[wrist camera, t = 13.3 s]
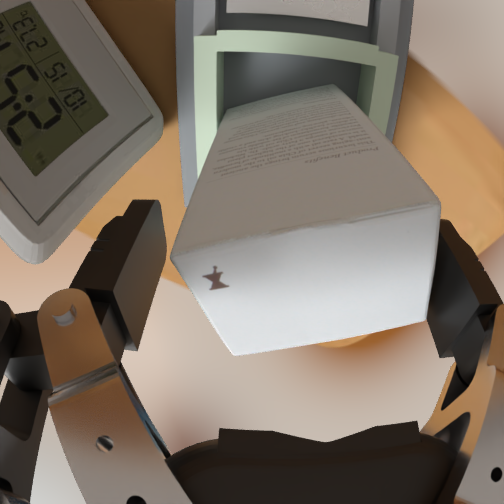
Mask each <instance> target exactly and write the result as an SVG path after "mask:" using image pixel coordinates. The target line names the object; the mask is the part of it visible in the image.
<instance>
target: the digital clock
mask: <svg viewBox="0 0 504 504" xmlns="http://www.w3.org/2000/svg"><path fill="white" fill-rule="evenodd" d="M162 134H163V115H162V113H161V111H160V109H159V108H158V106H157V104H156V103H155V101H154V100H153V98H152V97H151V95H150V94H149V92H148V91H147V89H146V88H145V86H144V85H143V83H142V82H141V80H140V79H139V78H138V76H137V75H136V73H135V72H134V70H133V69H132V67H131V66H130V65H129V63H128V62H127V60H126V59H125V57H124V56H123V54H122V53H121V52H120V50H119V49H118V47H117V46H116V44H115V43H114V42H113V40H112V39H111V37H110V36H109V34H108V33H107V31H106V30H105V29H104V27H103V26H102V24H101V23H100V21H99V20H98V19H97V17H96V16H95V14H94V13H93V11H92V10H91V9H90V7H89V6H88V4H87V3H86V1H85V0H0V237H1V239H2V240H3V241H4V242H5V243H6V244H7V245H8V246H9V248H10V249H11V250H12V251H13V252H14V253H15V254H16V255H17V256H18V257H20V258H21V259H22V260H24V261H26V262H27V263H31V264H40V263H43V262H44V261H45V260H47V259H48V258H49V257H50V256H51V255H52V254H53V252H55V250H56V249H57V248H58V247H59V246H60V245H61V243H62V242H63V241H64V240H65V239H66V238H67V237H68V235H69V234H70V233H71V232H72V231H73V230H74V228H75V227H76V226H77V225H78V224H79V223H80V221H81V220H82V219H83V218H84V217H85V216H86V215H87V213H88V212H89V211H90V210H91V209H92V208H93V207H94V206H95V205H96V203H97V202H98V201H99V200H100V199H101V198H102V197H103V196H104V195H105V194H106V193H107V192H108V191H109V189H110V188H111V187H112V186H113V185H114V184H115V183H116V182H117V181H118V180H119V179H120V178H121V177H122V176H123V175H124V174H125V173H126V172H127V171H128V170H129V169H130V168H131V167H132V166H133V165H134V164H135V163H136V162H137V161H138V160H139V159H140V158H141V157H142V156H143V155H144V154H145V153H146V152H147V151H149V150H150V149H151V148H152V147H153V146H154V145H155V144H156V143H157V142H158V141H159V139H160V138H161V136H162Z"/></svg>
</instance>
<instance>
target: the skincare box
mask: <svg viewBox="0 0 504 504" xmlns="http://www.w3.org/2000/svg"><path fill="white" fill-rule="evenodd" d="M440 215H441V202H440V200H439V198H438V197H437V196H436V195H435V194H434V192H433V191H432V190H431V188H430V187H429V186H428V185H427V183H426V182H425V181H424V180H423V179H422V178H421V176H420V175H419V174H418V173H417V171H416V170H415V169H414V168H413V167H412V166H411V165H410V163H409V162H408V161H407V160H406V158H405V157H404V156H403V155H402V154H401V153H400V152H399V151H398V149H397V148H396V147H395V146H394V145H393V144H392V143H391V142H390V140H389V139H388V138H387V137H386V136H385V135H384V134H383V132H382V131H381V130H380V129H379V128H378V127H377V126H376V125H375V124H374V123H373V122H372V121H371V120H370V119H369V118H368V117H367V116H366V114H365V113H364V112H363V111H362V110H361V109H360V108H359V107H358V106H357V105H356V104H355V103H354V102H353V101H352V100H351V99H350V98H349V97H348V96H347V95H346V94H345V93H344V92H343V91H342V90H341V89H339V88H338V87H337V86H336V85H335V84H329V85H324V86H319V87H314V88H309V89H304V90H299V91H295V92H291V93H286V94H282V95H278V96H274V97H270V98H266V99H262V100H258V101H255V102H251V103H247V104H244V105H240V106H237V107H233V108H229V109H227V110H226V112H225V114H224V116H223V119H222V121H221V124H220V126H219V128H218V131H217V133H216V136H215V138H214V140H213V143H212V145H211V148H210V150H209V152H208V155H207V157H206V160H205V162H204V165H203V167H202V170H201V173H200V175H199V178H198V180H197V183H196V185H195V188H194V191H193V193H192V196H191V199H190V201H189V204H188V207H187V209H186V212H185V215H184V218H183V220H182V223H181V226H180V228H179V231H178V234H177V237H176V239H175V242H174V245H173V248H172V251H171V254H170V259H171V261H172V263H173V264H174V266H175V267H176V269H177V270H178V272H179V274H180V275H181V277H182V278H183V280H184V281H185V283H186V284H187V286H188V287H189V289H190V291H191V292H192V294H193V295H194V297H195V299H196V300H197V302H198V303H199V305H200V306H201V308H202V309H203V311H204V313H205V314H206V316H207V318H208V319H209V321H210V322H211V324H212V325H213V327H214V329H215V330H216V332H217V333H218V335H219V336H220V338H221V339H222V341H223V342H224V344H225V345H226V346H227V348H228V349H229V351H230V352H231V353H232V354H233V355H234V356H240V355H247V354H253V353H260V352H266V351H272V350H278V349H285V348H292V347H298V346H304V345H309V344H316V343H322V342H328V341H334V340H339V339H345V338H350V337H355V336H359V335H364V334H369V333H374V332H378V331H383V330H387V329H391V328H396V327H400V326H405V325H409V324H412V323H417V322H422V321H425V320H426V317H427V310H428V305H429V300H430V294H431V289H432V283H433V276H434V270H435V263H436V255H437V246H438V237H439V227H440Z"/></svg>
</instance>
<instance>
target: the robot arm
mask: <svg viewBox="0 0 504 504" xmlns="http://www.w3.org/2000/svg"><path fill="white" fill-rule="evenodd" d="M96 239H97V240H96V241H95V242H94V244H93V245H92V247H91V251H89V252H88V254H87V256H86V257H85V259H84V261H83V263H82V264H81V266H80V268H79V270H78V272H77V274H76V276H75V277H74V279H73V281H72V283H71V285H70V287H69V288H68V289H63V290H60V291H58V292H55V293H53V294H52V295H50V296H49V297H48V298H47V299H46V300H45V301H44V302H43V304H42V305H41V307H40V309H39V310H38V311H32V312H26V313H19V314H14V313H13V311H12V310H11V308H10V307H9V305H8V304H7V303H6V302H4V301H1V300H0V385H1V381H2V379H3V376H4V375H5V376H6V377H7V378H8V381H7V384H6V387H5V390H4V393H3V396H2V399H1V402H0V504H30V497H31V490H32V484H33V477H34V471H35V466H36V461H37V456H38V450H39V445H40V441H41V437H42V432H43V428H44V423H45V419H46V415H47V412H48V408H49V409H50V413H51V416H52V419H53V422H54V425H55V428H56V431H57V434H58V437H59V440H60V443H61V445H62V448H63V450H64V453H65V456H66V458H67V461H68V463H69V466H70V468H71V471H72V473H73V475H74V478H75V480H76V482H77V484H78V486H79V489H80V491H81V493H82V495H83V497H84V499H85V501H86V503H87V504H504V304H503V302H502V300H501V298H500V296H499V294H498V293H497V290H496V289H495V287H494V285H493V283H492V281H491V280H490V278H489V276H488V274H487V273H486V271H484V267H483V266H482V264H481V262H480V261H478V257H477V256H476V254H475V253H474V251H473V249H472V248H471V247H470V246H469V245H468V244H467V243H466V242H465V241H464V240H463V239H462V238H461V237H460V235H459V234H458V232H457V231H456V229H455V228H454V226H453V225H452V223H451V222H450V221H449V220H445V219H440V227H439V237H438V246H437V255H436V263H435V270H434V276H433V283H432V289H431V294H430V300H429V305H428V310H427V317H426V319H427V322H428V324H429V327H430V330H431V333H432V336H433V339H434V342H435V345H436V348H437V351H438V354H439V357H440V358H445V357H454V358H455V362H454V363H453V365H452V366H451V368H450V370H449V373H448V376H447V378H446V381H445V384H444V387H443V389H442V392H441V394H440V397H439V399H438V402H437V404H436V407H435V409H434V411H433V414H432V416H431V417H430V419H429V420H428V422H427V423H426V424H425V426H424V427H423V428H422V429H421V431H420V432H419V428H418V422H417V421H412V422H406V423H398V424H391V425H383V426H375V427H372V428H369V429H367V430H364V431H361V432H358V433H355V434H353V435H350V436H347V437H344V438H341V439H338V440H334V441H331V442H320V441H314V440H310V439H305V438H300V437H296V436H291V435H287V434H283V433H279V432H275V431H259V430H238V429H223V428H220V429H219V438H218V439H214V440H208V441H204V442H201V443H197V444H194V445H192V446H189V447H187V448H184V449H182V450H181V451H178V452H176V453H174V454H173V455H172V454H171V452H170V450H169V449H168V447H167V445H166V444H165V442H164V441H163V439H162V437H161V436H160V434H159V432H158V431H157V429H156V428H155V426H154V424H153V423H152V421H151V419H150V418H149V416H148V414H147V413H146V410H145V409H144V407H143V405H142V403H141V401H140V399H139V397H138V395H137V394H136V391H135V389H134V388H133V385H132V383H131V382H130V380H129V377H128V376H127V373H126V371H125V369H124V367H123V365H122V363H121V358H122V355H123V352H124V349H125V350H132V351H138V348H139V344H140V340H141V337H142V334H143V330H144V327H145V324H146V320H147V317H148V314H149V310H150V307H151V304H152V301H153V297H154V294H155V291H156V288H157V285H158V282H159V279H160V276H161V273H162V270H163V267H164V264H165V260H166V252H167V244H166V237H165V231H164V224H163V218H162V211H161V205H160V202H159V201H158V200H133V201H132V202H131V203H130V205H129V206H128V208H127V210H126V212H125V213H124V215H123V216H116V217H115V218H113V219H112V220H111V221H110V222H109V223H107V224H106V225H105V226H104V227H103V228H102V230H101V232H100V233H99V235H98V237H97V238H96ZM53 391H54V392H53Z"/></svg>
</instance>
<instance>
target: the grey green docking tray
mask: <svg viewBox="0 0 504 504" xmlns="http://www.w3.org/2000/svg"><path fill="white" fill-rule="evenodd" d="M413 4H414V0H370V2H369V14H368V25H367V26H359V25H354V24H349V23H343V22H337V21H330V20H323V19H315V18H307V17H297V16H286V15H272V14H245V13H226V10H227V0H176V15H175V22H176V78H177V103H178V123H179V140H180V155H181V168H182V181H183V193H184V204H185V207H188V204H189V201H190V199H191V196H192V193H193V191H194V188H195V185H196V183H197V180H198V178H199V175H200V173H201V170H202V167H203V165H204V162H205V160H206V157H207V155H208V152H209V150H210V148H211V145H212V143H213V140H214V138H215V136H216V133H217V131H218V128H219V126H220V124H221V121H222V119H223V116H224V114H225V112H226V110H227V109H229V108H233V107H237V106H240V105H244V104H247V103H251V102H255V101H258V100H262V99H266V98H270V97H274V96H278V95H282V94H286V93H291V92H295V91H299V90H304V89H309V88H314V87H319V86H324V85H329V84H335V85H336V86H337V87H338V88H339V89H341V90H342V91H343V92H344V93H345V94H346V95H347V96H348V97H349V98H350V99H351V100H352V101H353V102H354V103H355V104H356V105H357V106H358V107H359V108H360V109H361V110H362V111H363V112H364V113H365V114H366V116H367V117H368V118H369V119H370V120H371V121H372V122H373V123H374V124H375V125H376V126H377V127H378V128H379V129H380V130H381V131H382V132H383V134H384V135H385V136H386V137H387V138H388V139H389V140H390V142H391V143H392V140H393V135H394V130H395V125H396V121H397V116H398V110H399V105H400V100H401V94H402V89H403V83H404V77H405V70H406V64H407V57H408V49H409V42H410V34H411V25H412V15H413Z"/></svg>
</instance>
